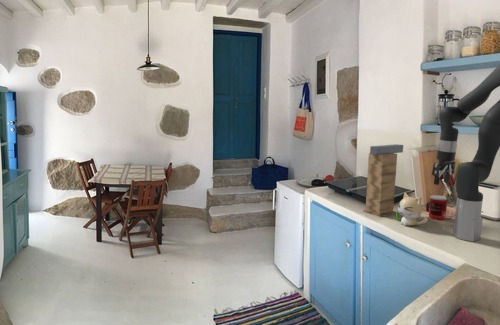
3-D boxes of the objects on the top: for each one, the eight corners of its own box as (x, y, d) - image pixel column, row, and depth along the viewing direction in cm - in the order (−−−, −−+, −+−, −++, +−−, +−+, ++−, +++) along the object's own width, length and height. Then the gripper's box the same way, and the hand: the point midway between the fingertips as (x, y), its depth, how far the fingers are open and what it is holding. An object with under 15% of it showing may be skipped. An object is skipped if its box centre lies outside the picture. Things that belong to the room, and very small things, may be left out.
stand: (395, 213, 181) (399, 153, 176) (380, 216, 175) (384, 155, 170) (378, 208, 190) (381, 151, 185) (363, 211, 184) (366, 153, 179)
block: (402, 152, 183) (403, 144, 182) (376, 154, 172) (376, 147, 172) (396, 151, 186) (396, 144, 185) (370, 153, 176) (370, 146, 175)
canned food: (441, 215, 177) (442, 195, 175) (448, 220, 169) (450, 199, 168) (425, 215, 178) (427, 194, 176) (432, 220, 170) (434, 198, 168)
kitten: (388, 220, 169) (390, 191, 167) (404, 218, 172) (407, 190, 170) (410, 230, 155) (413, 199, 153) (428, 228, 158) (431, 197, 156)
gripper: (446, 152, 151) (440, 187, 154) (463, 150, 158) (457, 183, 162) (430, 149, 157) (425, 183, 161) (447, 147, 165) (442, 180, 168)
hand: (441, 183), depth 161 cm, fingers open, 8 cm apart
